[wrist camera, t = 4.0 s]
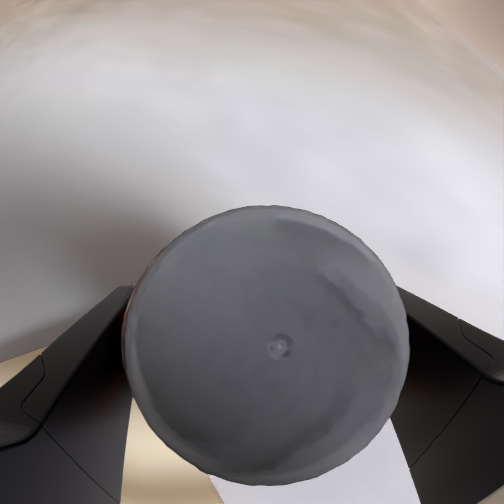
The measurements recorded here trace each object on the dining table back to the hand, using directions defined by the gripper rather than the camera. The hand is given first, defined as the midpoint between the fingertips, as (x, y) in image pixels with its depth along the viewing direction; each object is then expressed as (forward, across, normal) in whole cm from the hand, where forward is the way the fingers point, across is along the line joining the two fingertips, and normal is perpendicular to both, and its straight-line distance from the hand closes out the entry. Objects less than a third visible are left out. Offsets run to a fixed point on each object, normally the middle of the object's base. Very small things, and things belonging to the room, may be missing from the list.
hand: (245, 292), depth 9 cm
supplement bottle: (+4, 0, +6) cm, 7 cm away
